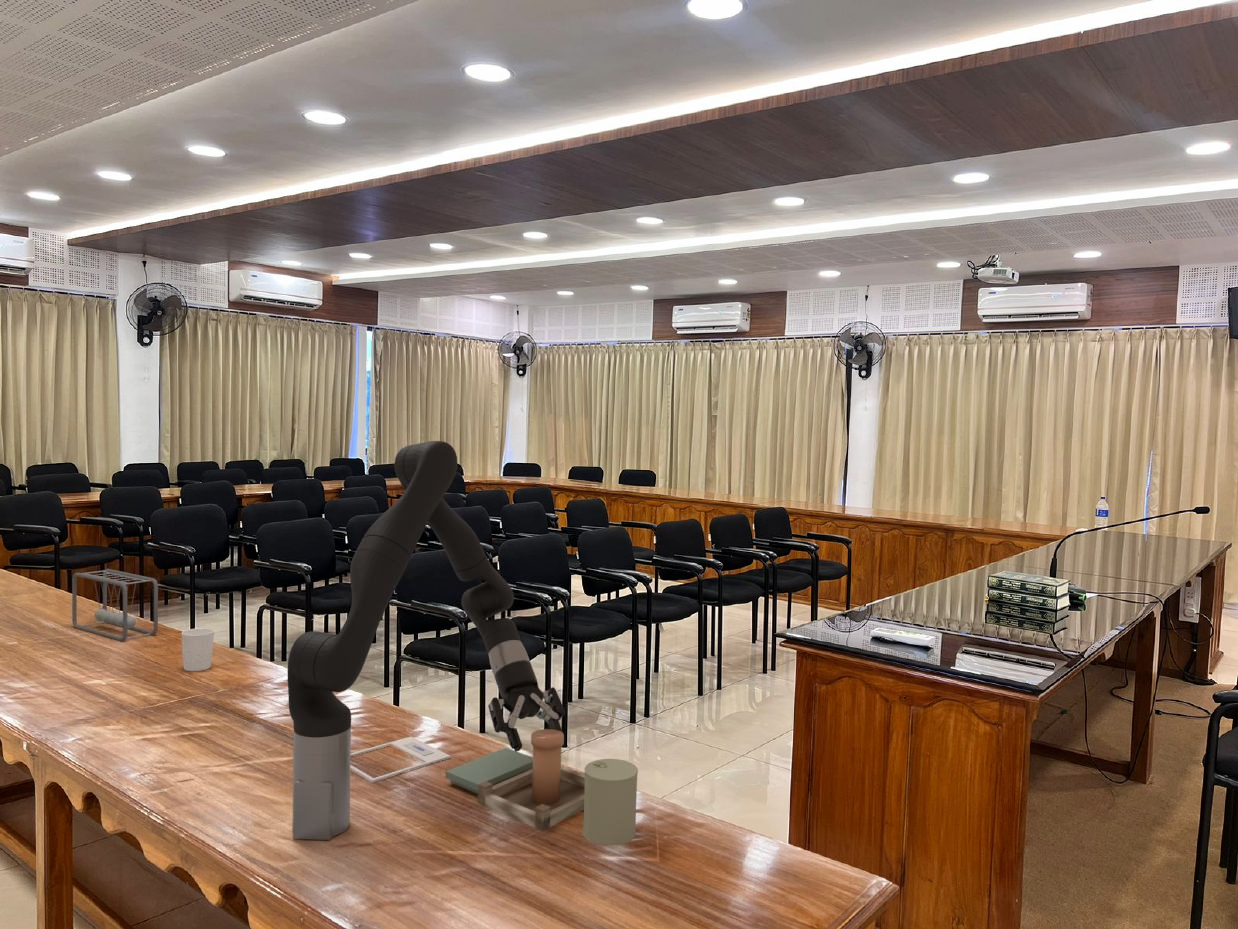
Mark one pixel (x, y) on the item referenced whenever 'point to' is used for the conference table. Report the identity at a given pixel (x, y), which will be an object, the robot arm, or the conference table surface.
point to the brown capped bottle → (546, 766)
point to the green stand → (490, 769)
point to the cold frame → (518, 803)
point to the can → (610, 801)
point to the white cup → (197, 649)
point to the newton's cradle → (110, 616)
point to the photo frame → (407, 746)
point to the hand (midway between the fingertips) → (539, 745)
